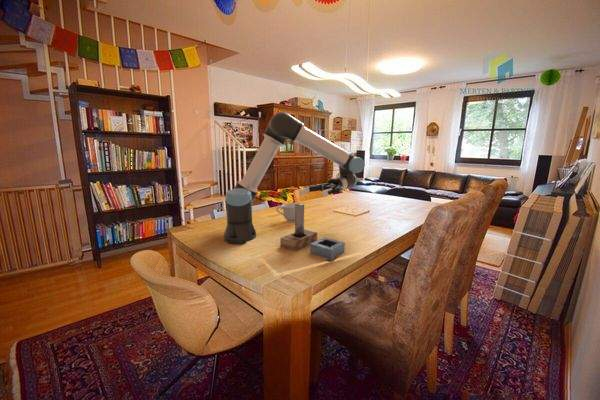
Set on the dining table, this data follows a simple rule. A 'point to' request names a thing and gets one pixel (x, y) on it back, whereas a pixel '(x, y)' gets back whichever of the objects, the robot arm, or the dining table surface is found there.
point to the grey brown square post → (299, 220)
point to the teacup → (288, 212)
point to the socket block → (327, 248)
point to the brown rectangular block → (298, 240)
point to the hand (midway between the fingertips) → (310, 193)
